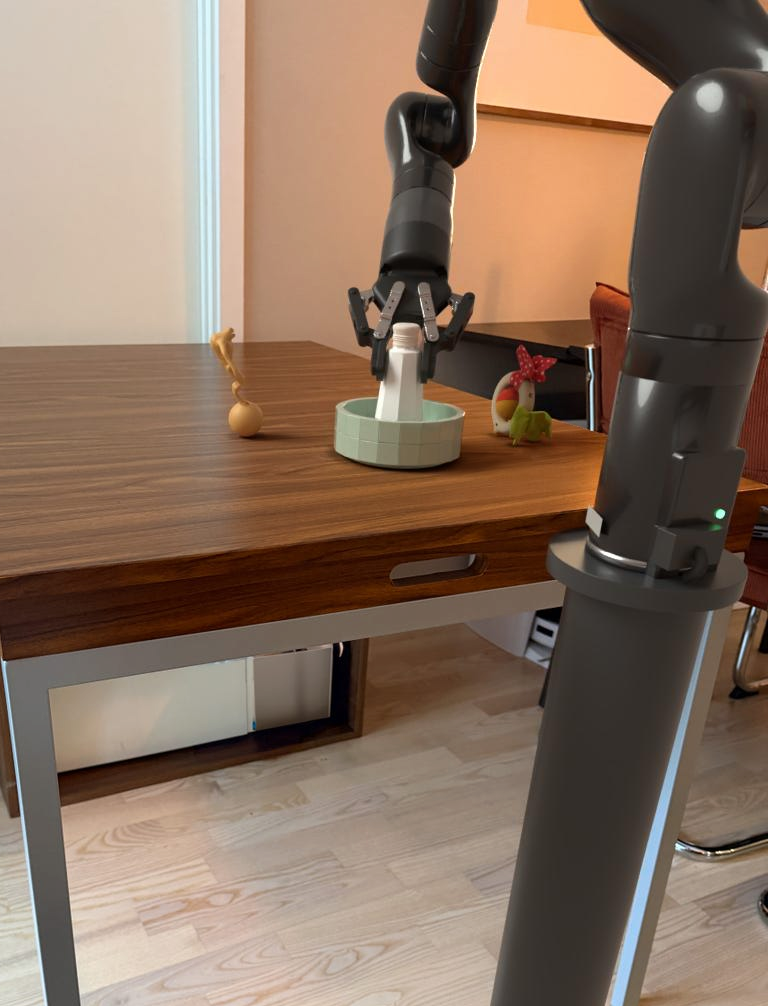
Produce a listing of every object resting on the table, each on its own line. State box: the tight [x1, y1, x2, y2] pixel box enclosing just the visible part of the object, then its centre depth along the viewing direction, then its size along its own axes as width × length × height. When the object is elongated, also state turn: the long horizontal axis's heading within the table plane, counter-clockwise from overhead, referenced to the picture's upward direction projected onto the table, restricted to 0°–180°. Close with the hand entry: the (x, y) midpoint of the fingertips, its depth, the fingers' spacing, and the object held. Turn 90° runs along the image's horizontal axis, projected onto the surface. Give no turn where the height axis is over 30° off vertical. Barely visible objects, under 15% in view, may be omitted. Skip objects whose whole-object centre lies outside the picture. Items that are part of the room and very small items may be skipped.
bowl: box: [333, 396, 466, 470], centre depth 93 cm, size 14×14×5 cm
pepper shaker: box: [375, 323, 424, 421], centre depth 91 cm, size 5×5×11 cm
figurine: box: [209, 326, 264, 438], centre depth 98 cm, size 8×6×12 cm
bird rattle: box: [491, 344, 558, 446], centre depth 101 cm, size 6×11×9 cm
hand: (401, 377), depth 89 cm, fingers closed on pepper shaker, 4 cm apart
